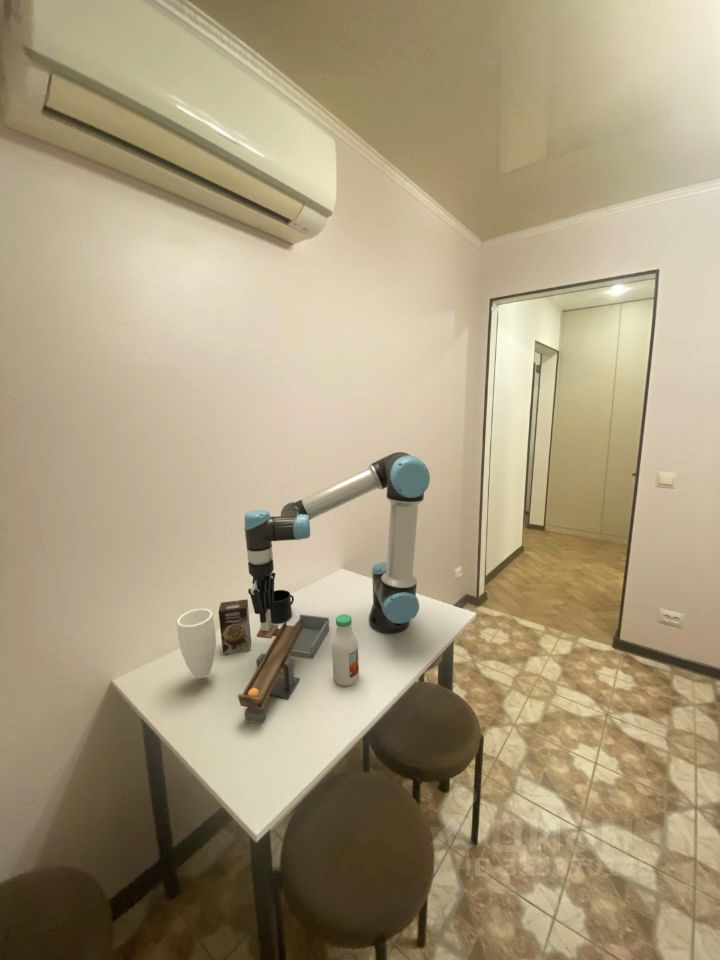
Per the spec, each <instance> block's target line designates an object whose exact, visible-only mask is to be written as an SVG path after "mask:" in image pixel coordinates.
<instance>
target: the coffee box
mask: <svg viewBox="0 0 720 960" xmlns="http://www.w3.org/2000/svg"><path fill="white" fill-rule="evenodd" d="M248 601H249V600H248V599H237V600H230V601H223V602H220V604H219V609H218V620H219V628H220V636H221V637H220V639H221V650H222V655H224V656H225V655H231V654H237V653H238V654H239V653H243V652H244V653H245V652H249V651H251V649H252V648H251V647H252V633H251V623H250V613H249V602H248Z"/></svg>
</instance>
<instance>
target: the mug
mask: <svg viewBox="0 0 720 960" xmlns="http://www.w3.org/2000/svg"><path fill="white" fill-rule="evenodd" d="M294 600H295V597H294V596H293V594H291V593H290V592H289V591H288V590H285V589H277V590H274V603H273V604H271V605H272V606H273V609H271V608H270V613H271V624H280V623H282V624H283V623H284V621H285V622H287V621H289V620H290V619H291V618H292V614H293V613H292V605H293V604H294Z"/></svg>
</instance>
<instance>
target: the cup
mask: <svg viewBox="0 0 720 960" xmlns="http://www.w3.org/2000/svg"><path fill="white" fill-rule="evenodd" d="M214 619H215V618H214V615H213V612H212V610H209V609H208V608H195V609H191V610H189V611H187V612H184V613H182V615H180V616H179V617H178V619H177V621H176V627H177V638H178V642H179V647H180V652H181V655H182V657H183V660H184V663H185V665H186V667H187V668H188V670H189V672H190V674H192V676H193V677H194V678H196V679H203V678H205V677H207V676H208V675H210V673H211V671H212V667H213V664H214V660H215V655H216V654H215V653H216V646H217V639H216V637H217V636H216V626H215V620H214Z"/></svg>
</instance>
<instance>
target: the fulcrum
mask: <svg viewBox="0 0 720 960" xmlns="http://www.w3.org/2000/svg"><path fill="white" fill-rule="evenodd" d="M265 654H266V653H260V655H259V656H258V657H257V658H256V669H257V668H258V666H259V665H260V663H261V661H262V659H263V658H264V656H265ZM293 661H294V660H293V657H290V656H289V657H288V658H287V660H286V661H285V663H284V664H283V665H284V668H283V674H280V675H279V677H278V679H277V681H276V683H275V684H274V686H273V688H272V690H271V692H270V694H269V696H268V697H271V698H277V699H282V700H289V699H290V697H291V695H292V694H293V692H294V690H295V689H296V687H297V685H298V683H299V681H300V677H299V676H295V674H294V662H293Z"/></svg>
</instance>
